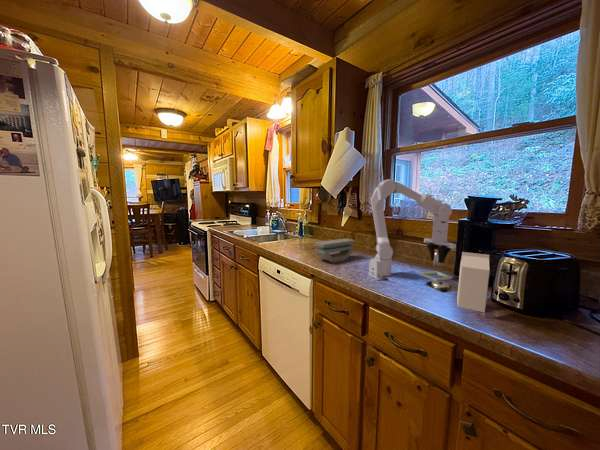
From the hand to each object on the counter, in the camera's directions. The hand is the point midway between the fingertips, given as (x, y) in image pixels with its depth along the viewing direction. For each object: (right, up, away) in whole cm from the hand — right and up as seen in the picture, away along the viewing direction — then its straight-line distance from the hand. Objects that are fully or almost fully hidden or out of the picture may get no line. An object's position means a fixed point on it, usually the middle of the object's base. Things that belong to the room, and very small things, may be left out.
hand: (437, 261), depth 106 cm
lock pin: (0, -2, 0) cm, 2 cm away
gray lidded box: (-41, -4, +34) cm, 53 cm away
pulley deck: (-3, -10, -10) cm, 14 cm away
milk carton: (-5, -12, -27) cm, 30 cm away
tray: (0, -9, +1) cm, 9 cm away
